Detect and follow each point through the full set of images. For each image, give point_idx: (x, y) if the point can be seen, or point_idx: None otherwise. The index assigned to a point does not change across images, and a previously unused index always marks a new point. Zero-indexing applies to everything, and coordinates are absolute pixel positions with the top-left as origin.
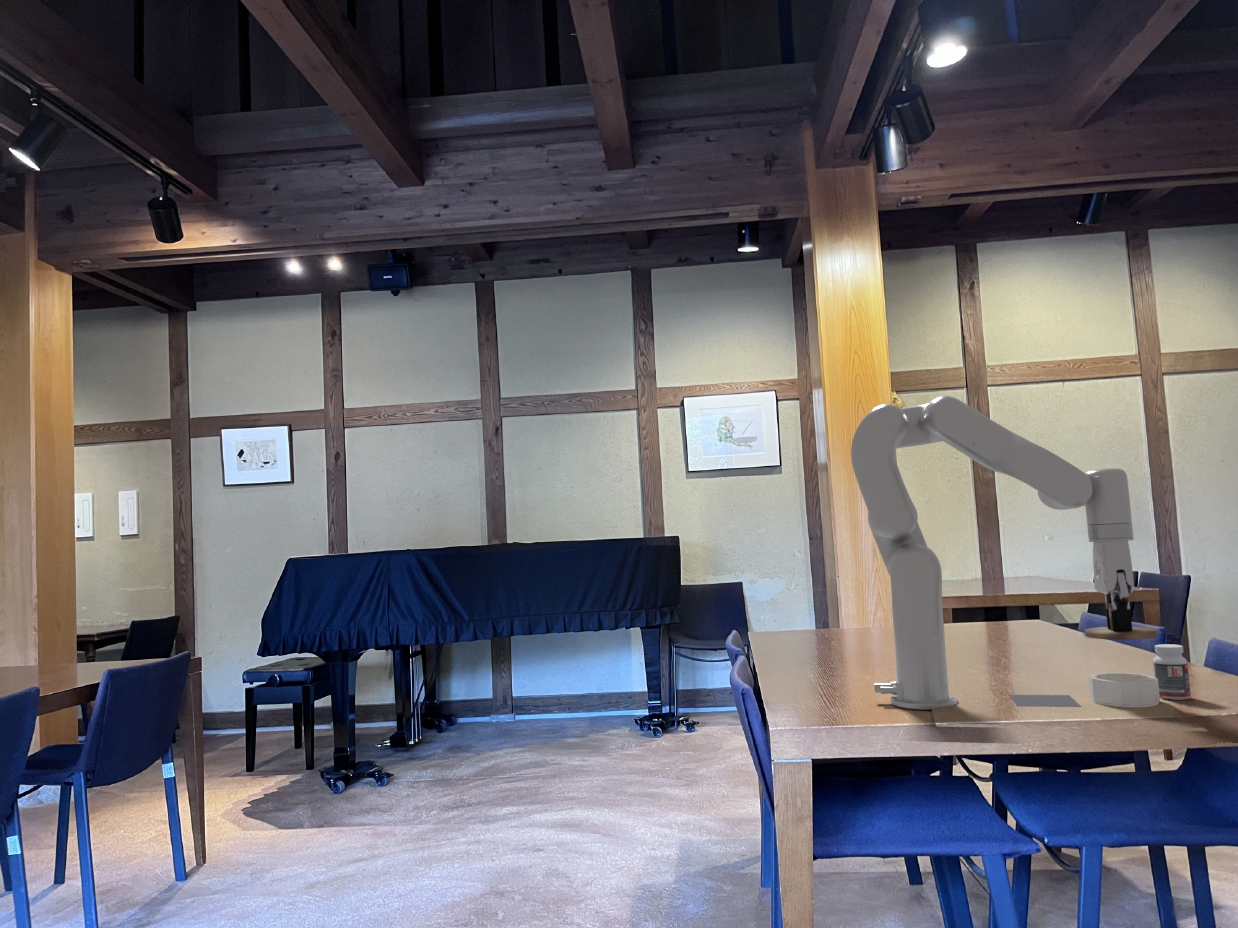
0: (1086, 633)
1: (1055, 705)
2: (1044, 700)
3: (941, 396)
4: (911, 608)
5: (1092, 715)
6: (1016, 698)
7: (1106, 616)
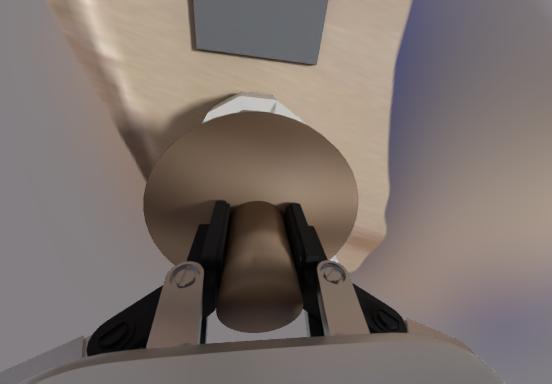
0: (251, 113)
1: None
2: None
3: None
4: None
5: (141, 52)
6: None
7: (308, 229)
